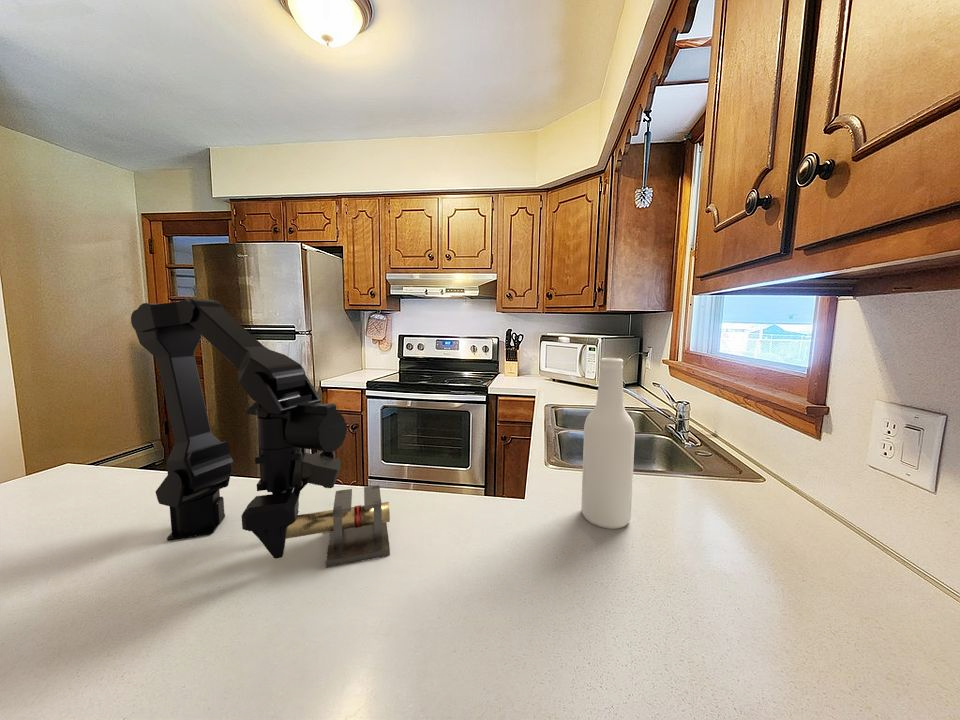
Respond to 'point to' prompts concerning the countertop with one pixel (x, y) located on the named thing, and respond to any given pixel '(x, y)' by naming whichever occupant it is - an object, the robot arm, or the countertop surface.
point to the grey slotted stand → (357, 531)
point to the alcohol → (608, 453)
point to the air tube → (324, 520)
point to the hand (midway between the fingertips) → (285, 539)
